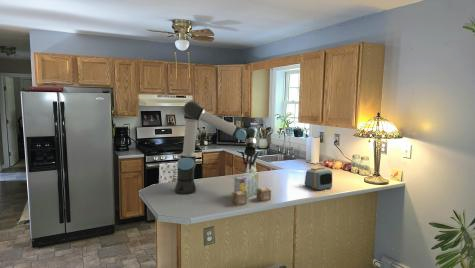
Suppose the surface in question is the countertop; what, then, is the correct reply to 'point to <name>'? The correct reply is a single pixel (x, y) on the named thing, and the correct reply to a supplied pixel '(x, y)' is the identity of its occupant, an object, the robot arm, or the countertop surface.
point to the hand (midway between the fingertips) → (247, 172)
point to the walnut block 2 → (263, 194)
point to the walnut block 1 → (239, 198)
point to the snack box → (247, 183)
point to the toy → (253, 169)
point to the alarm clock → (318, 178)
